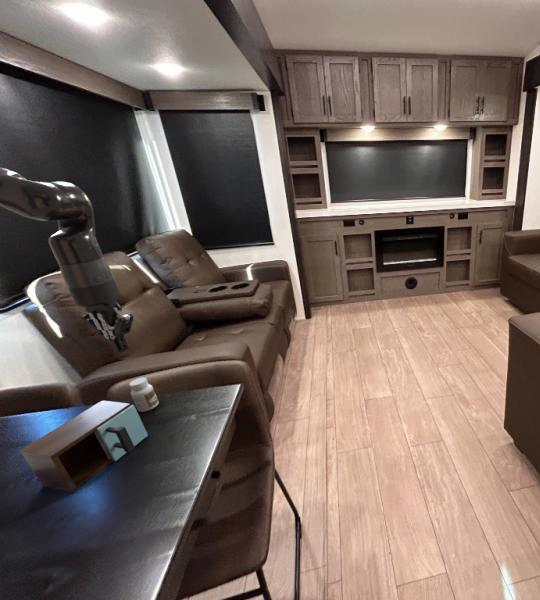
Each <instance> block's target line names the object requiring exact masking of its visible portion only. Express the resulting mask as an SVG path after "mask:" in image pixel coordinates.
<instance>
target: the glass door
mask: <svg viewBox="0 0 540 600" xmlns="http://www.w3.org/2000/svg"><path fill="white" fill-rule="evenodd" d="M130 405H131V406H130V407H128V408H127V409H125V410H124V411H122V412H121V413H119V414H118V415H116V416H115V417H113V418H112V419H110V420H109V421H107V422H106V423H104V424H103V425H101V426H100V427H98V428H97V431H98V432H99V434H100V436H101V438H102V440H103V442H104V444H105V446H106V447H107V449H108V451H109V453H110V455H111V457H112V459H113V462H117V461H118V460H119V459H121V458H122V457H123V456H124V455H126V454H127V453H131V452H132V451H133V450H135V449H136V446H137V445H138V444H139V443H141V442H142V441H143V440H144V439H146V438H147V437H148V436H149V434H148V432H147V431H146V428H145V425H144V423H143V421H142V420H141V417H140V415H139V413H138V410H137V407H136V405H135V404H130Z"/></svg>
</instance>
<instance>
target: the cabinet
mask: <svg viewBox="0 0 540 600" xmlns="http://www.w3.org/2000/svg"><path fill="white" fill-rule="evenodd" d="M131 405H132V404H131V403H128V402H127V403H126V402H120V401H112V400H101V401H99V402H97V403H96V404H94V405H92V406H90V407H89V408H88V409H85V410H84V411H82V412H81V413H79V414H78V415H76V416H74V417H72V418H71V419H70V420H68V421H66V422H64V423H63V424H61V425H60V426H58V427H56V428H55V429H53V430H51V431H50V432H48V433H46V434H44V435H43V436H41V437H40V438H38V439H36V440H35V441H33V442H31V443H29V444H28V445H26V446H25V447H23V448H22V449H20V450H19V452H20V454H21V456H23V458H24V459H25V461H26V462H27V464H28V465H29V467H30V468H31V470H32V471H33V473H34V474H35V476H36V477H37V479H38V480H39V483H41V485H42V487H45V488H50V489H54V490H59V491H61V492H62V491H63V492H67V493H71V494H74V493H76V492H77V491H79V489H80V488H82V487H83V486H84V485H85V484H86V483H88V482H89V481H90V480H92V479H94V478H95V477H96V476H97V475H99V473H101V472H102V471H103V470H105V468H107V467H109V466H110V465H111V464H112V463H113V462H114V461H113V459H112V457H111V455H110V453H109V451H108V449H107V447H106V446H105V444H104V442H103V440H102V438H101V436H100V434H99V432H98V431H97V428H98V427H100V426H101V425H103V424H104V423H106V422H107V421H109V420H110V419H112V418H113V417H115V416H116V415H118V414H119V413H121V412H122V411H124V410H125V409H127V408H128V407H130V406H131Z"/></svg>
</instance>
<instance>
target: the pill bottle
mask: <svg viewBox="0 0 540 600" xmlns="http://www.w3.org/2000/svg"><path fill="white" fill-rule="evenodd" d="M128 386H129V387H130V390H131V391H130V397H131V398H132V400H133V402H134V406H135V408H136V410H137V412H140V413H145V412H149V411H151V410H153V409H155V408H157V406H158V405H159V403H160V402H159V398H158V396H157V394H156V392H155V389H154V386H153V385H152V384H150V383H149V382H148V379H147V378H146V377H139V378H136V379H134V380H132V381H130V382H129V384H128Z"/></svg>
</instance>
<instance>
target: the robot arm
mask: <svg viewBox="0 0 540 600" xmlns="http://www.w3.org/2000/svg"><path fill="white" fill-rule="evenodd" d="M0 207H3V208H4V209H6V210H8V211H11V212H13V213H15V214H18V215H19V216H22V217H25V218H28V219H32V220H36V221H42V222H54V221H55V222H56V221H57V223H58V224H57V225H58V231H57V232H55V233H54V234H51V236H50V237H48V244H49V247H50V249H51V251H52V253H53V255H54V258H55V260H56V262H57V264H58V266H59V270H60V273H61V276H62V278H63V280H64V282H65V285H66V287H67V289H68V291H69V293H70V295H71V297H72V299H73V301H74V303H75V305H76V306H77V307H79V308H85V311H86V313H85V314H83V315H81V316H80V318H81V320H82V321H83V322H84V323H85V324H86V325H88V326H89V327H90V328H91V329H92V330H93V331H94V333H96V334H97V336H99V337H103V336H104V338H105V339H106V340H108V341H109V343H110V346H111V348H112V351H114V353H117V354H118V353H119V354H122V353H124V352H126V351H128V350H129V348H130V347H129V344H128V342H127V340H126V338H125V335H126V334H129V333H131V329H132V325H133V321H134V315H133V314H132V313H128V314H127V313H125V312H123V308H122V306H121V305H120V304H119V302H118V299H120V298H121V297H122V294H121V291H120V289H119V287H118V284H117V281H116V279H115V276H114V274H113V272H112V270H111V267H110V265H109V264H108V262H107V260H106V259H105V257H104V254H103V252H102V250H101V247H100V244H99V242H98V241H97V238H96V223H95V215H94V208H93V205H92V202H91V200H90V198H89V196H88V195H87V194H86V192H84V191H83V190H82V189H81V188H80V187H79V186H77V185H76V184H73V183H71V182H66V181H40V182H39V181H32V180H27V179H26V178H25V177H23V176H22V175H21V174H20V173H18V172H15V171H13V170H9V169H7V168H3V167H0Z"/></svg>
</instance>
